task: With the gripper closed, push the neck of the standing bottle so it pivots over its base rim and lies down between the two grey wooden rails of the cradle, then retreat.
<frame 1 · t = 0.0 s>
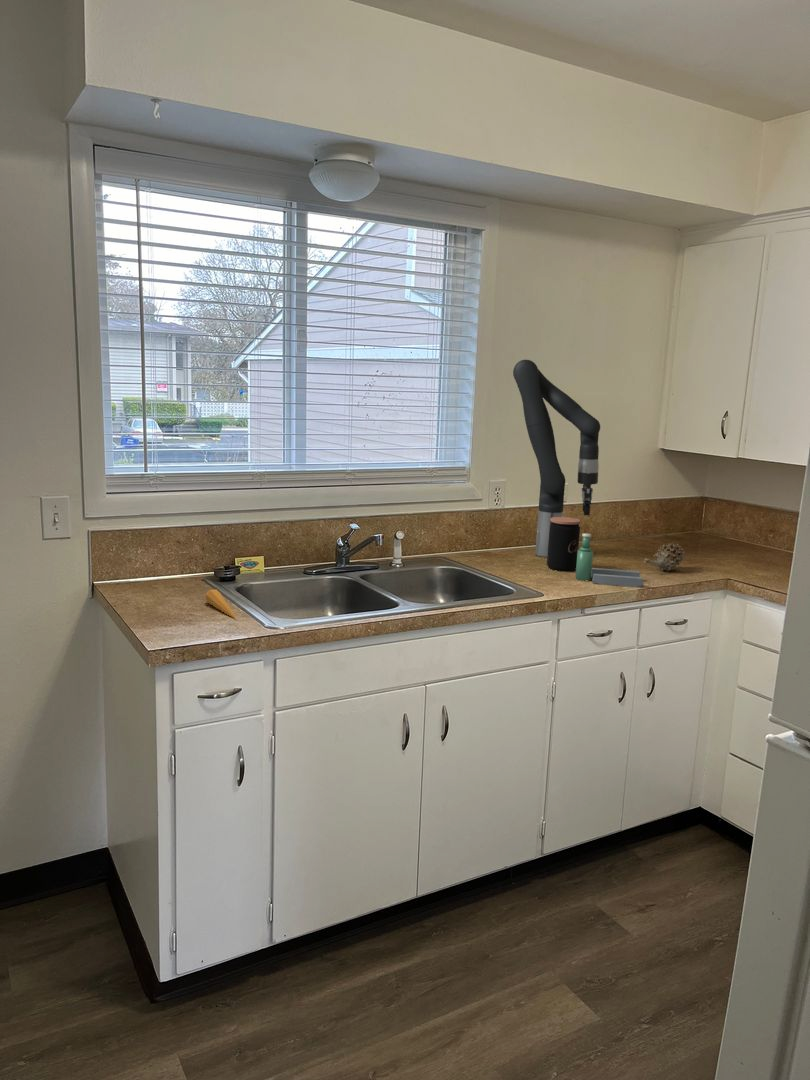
hand: (586, 513, 312), 17 cm above the worktop, tool pointing down, fingers open, 8 cm apart
coffee jar: (561, 569, 296), on the worktop
bottle: (583, 579, 281), on the worktop
pine cone: (661, 572, 298), on the worktop
cradle: (616, 581, 279), on the worktop
carrot: (222, 612, 227), on the worktop
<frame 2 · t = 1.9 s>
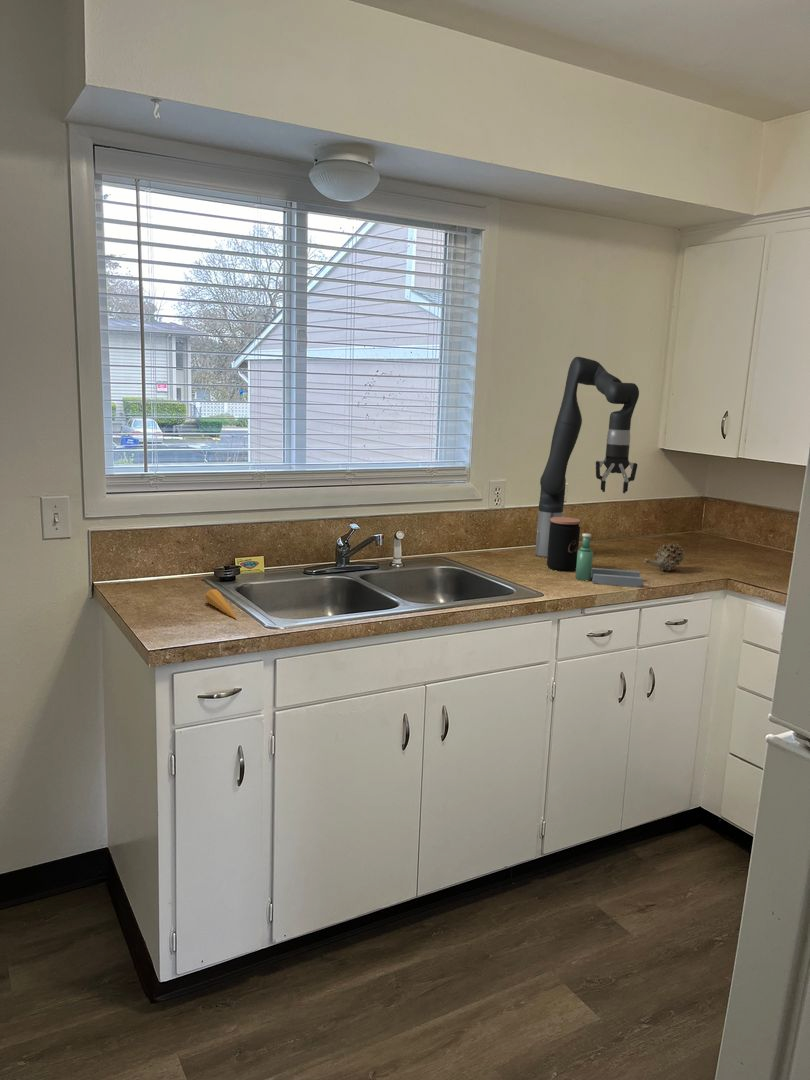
hand: (613, 492, 280), 30 cm above the worktop, tool pointing down, fingers open, 6 cm apart
nothing on the worktop moved.
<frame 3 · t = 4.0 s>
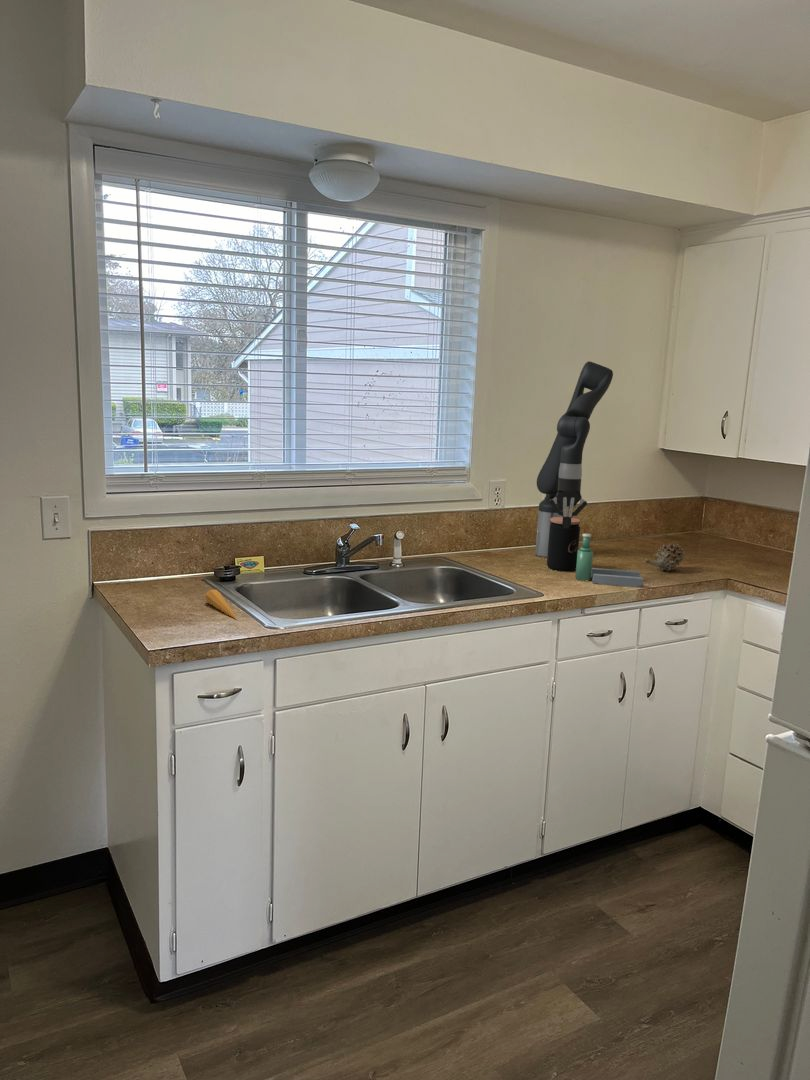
hand: (566, 527, 279), 17 cm above the worktop, tool pointing down, fingers closed
nothing on the worktop moved.
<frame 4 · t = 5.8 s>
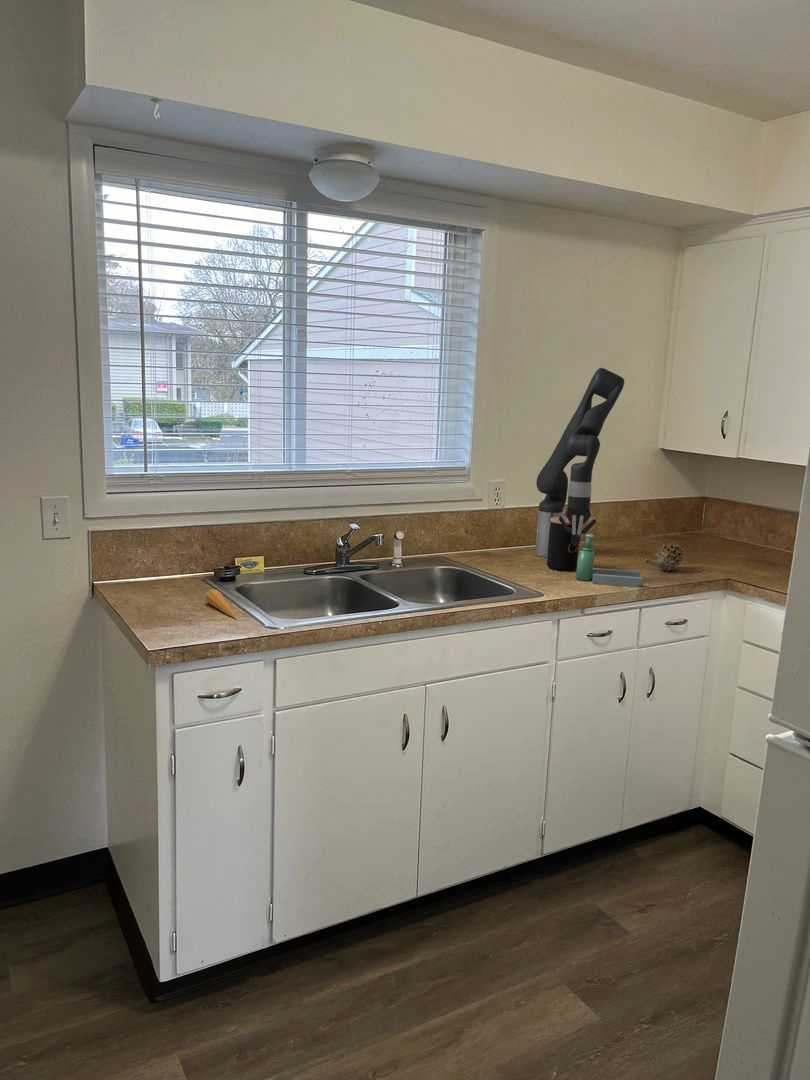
hand: (575, 545, 279), 12 cm above the worktop, tool pointing down, fingers closed
bottle: (583, 578, 281), on the worktop, touching gripper
everything else where it was.
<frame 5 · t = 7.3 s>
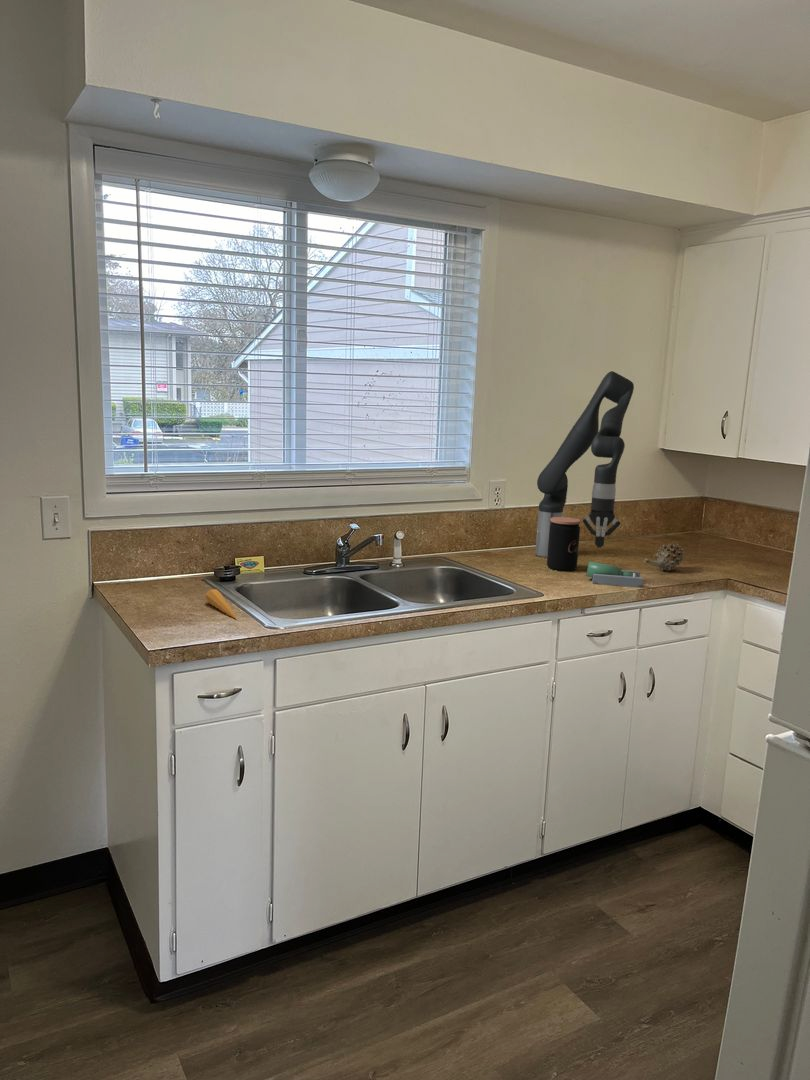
hand: (599, 547, 278), 12 cm above the worktop, tool pointing down, fingers closed
bottle: (588, 568, 280), point 4 cm above the worktop, tilted 97°, touching cradle
everything else where it was.
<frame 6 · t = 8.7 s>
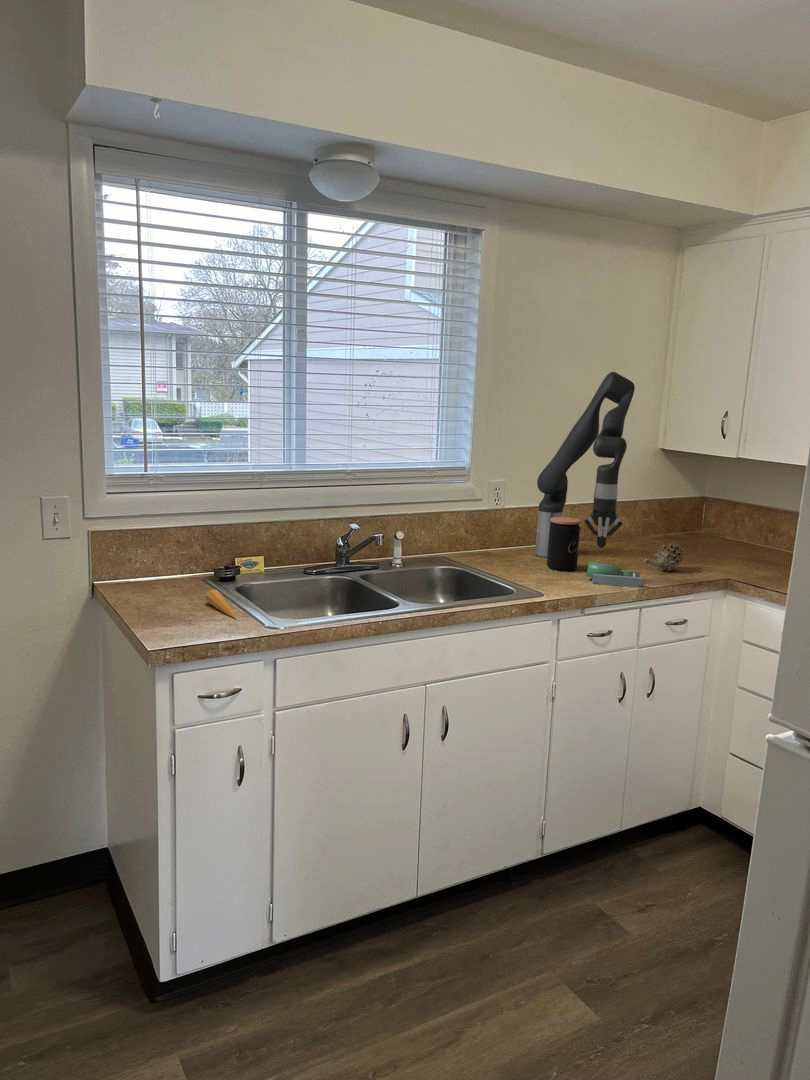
hand: (600, 547, 278), 12 cm above the worktop, tool pointing down, fingers closed
nothing on the worktop moved.
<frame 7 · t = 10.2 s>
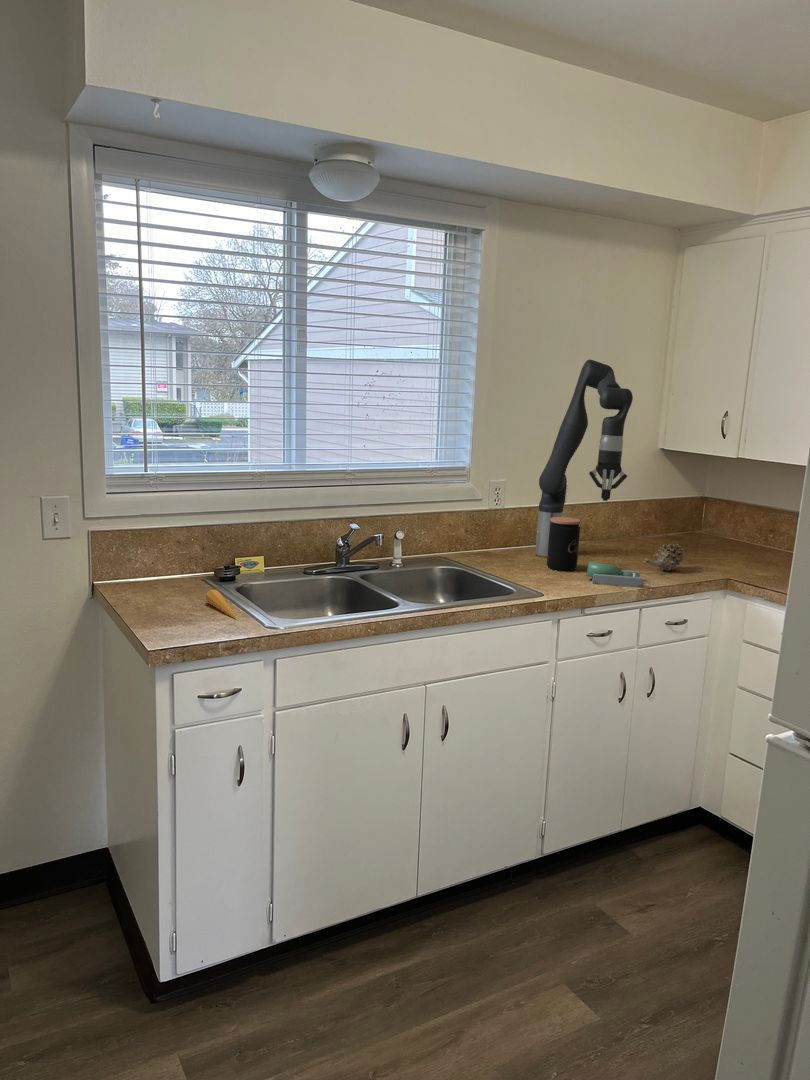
hand: (605, 500, 277), 27 cm above the worktop, tool pointing down, fingers closed
nothing on the worktop moved.
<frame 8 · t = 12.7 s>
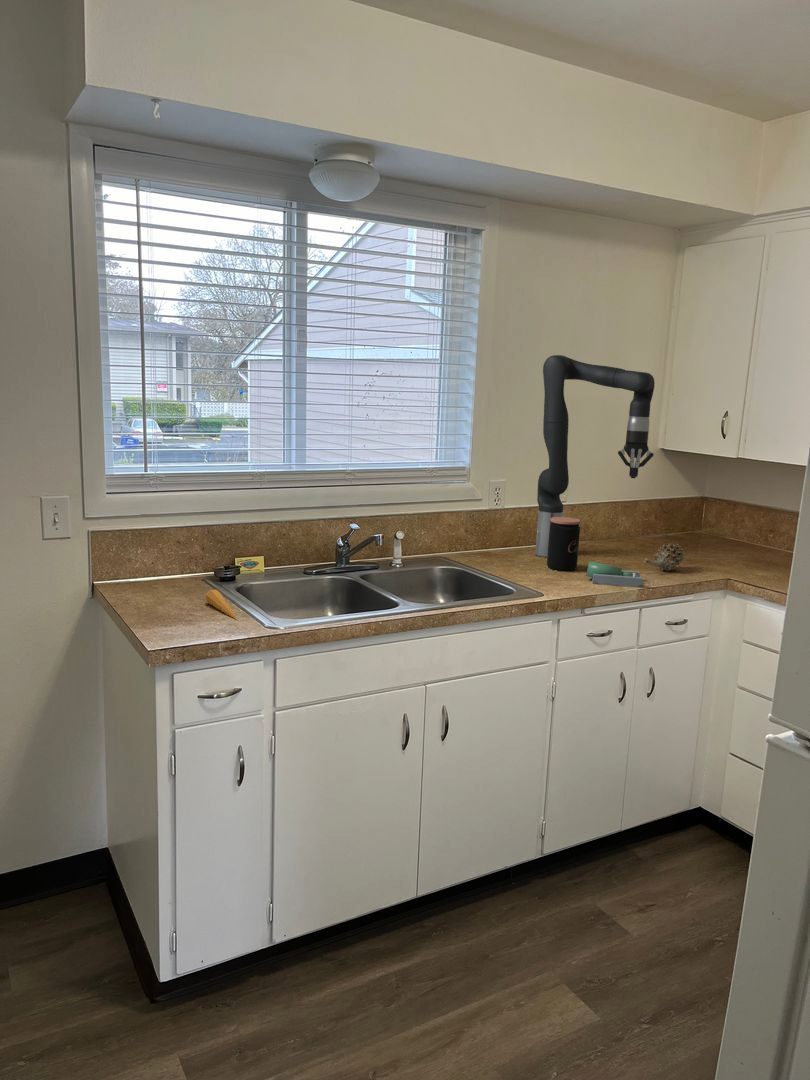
hand: (633, 478, 295), 33 cm above the worktop, tool pointing down, fingers closed
nothing on the worktop moved.
at the end: bottle tilted 97°; bottle inside the target area on the cradle (3.7 cm from its centre), point 3.8 cm above the cradle's base; the gripper is holding nothing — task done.
